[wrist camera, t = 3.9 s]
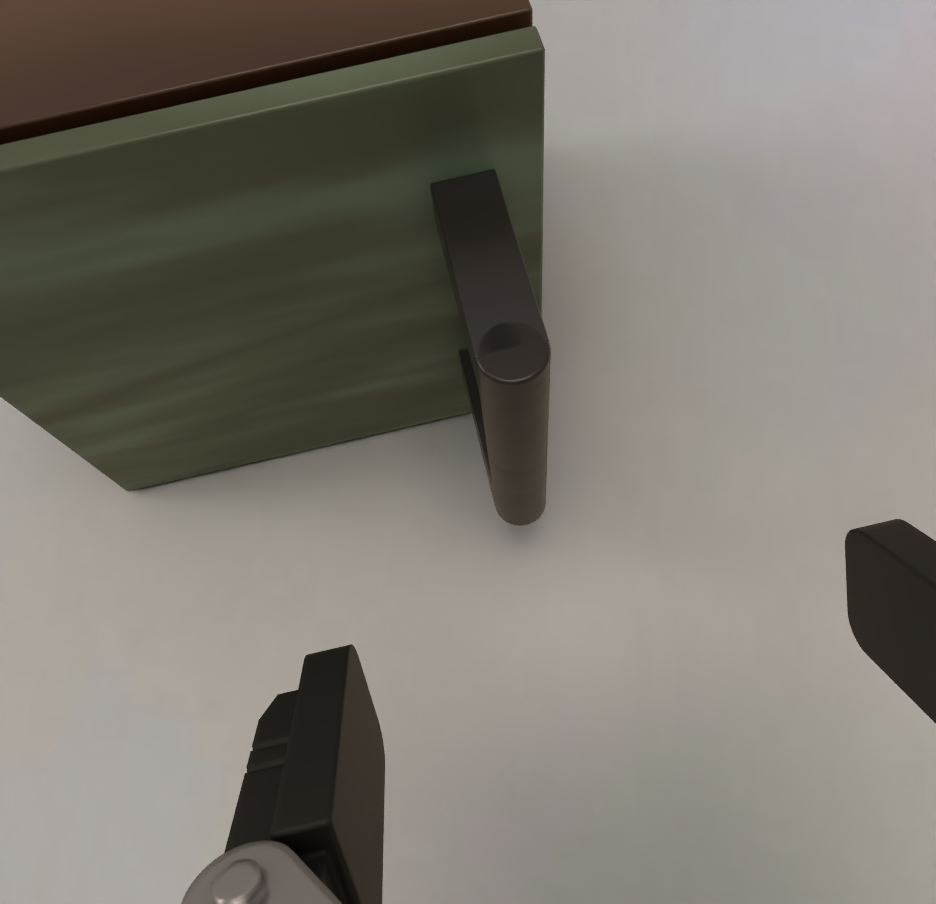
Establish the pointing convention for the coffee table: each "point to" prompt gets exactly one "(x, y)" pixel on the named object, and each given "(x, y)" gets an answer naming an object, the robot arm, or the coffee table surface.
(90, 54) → the cupboard
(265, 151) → the door
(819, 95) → the coffee table surface
